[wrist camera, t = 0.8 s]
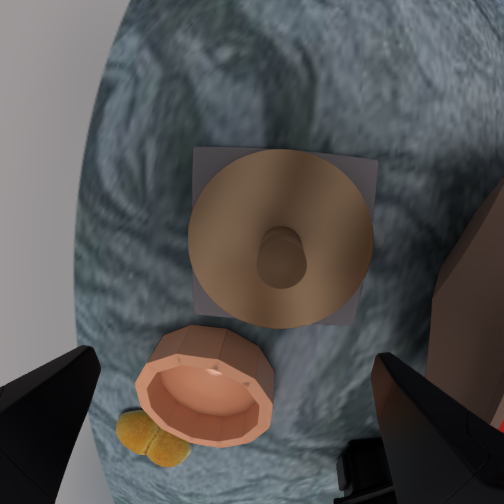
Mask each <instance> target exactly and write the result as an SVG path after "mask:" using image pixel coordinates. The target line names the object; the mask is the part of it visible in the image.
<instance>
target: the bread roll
mask: <svg viewBox="0 0 504 504" xmlns="http://www.w3.org/2000/svg"><path fill="white" fill-rule="evenodd" d="M116 433H117V436H118V438H119V440H120V441H121V443H122V444H123V445H124V446H126V447H127V448H128V449H130V450H131V451H133V452H135V453H137V454H140V455H147V456H148V457H149V458H150V459H151V460H152V461H153V462H154V463H156V464H158V465H160V466H163V467H173V466H176V465H178V464H179V463H182V462H183V461H184V460H185V459H186V458H187V457H188V456H189V454H190V453H191V451H192V448H193V443H189V442H187V441H185V440H183V439H181V438H179V437H177V436H175V435H173V434H171V433H169V432H167V431H165V430H163V429H161V428H160V427H159V426H158V425H157V424H156V423H155V422H154V420H153V419H152V418H151V417H150V416H149V415H148V414H147V413H146V412H145V411H144V410H135V411H129V412H125V413H123V414H122V415H120V417H119V418H118V420H117V424H116Z"/></svg>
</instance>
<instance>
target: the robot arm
mask: <svg viewBox="0 0 504 504" xmlns="http://www.w3.org/2000/svg"><path fill="white" fill-rule="evenodd" d="M100 372H101V365H100V362H99V360H98V358H97V355H96V353H95V350H94V348H93V347H91V346H86V345H81V346H79V347H77V348H75V349H73V350H72V351H70V352H68V353H66V354H64V355H62V356H60V357H58V358H56V359H54V360H52V361H50V362H48V363H46V364H45V365H43V366H41V367H39V368H37V369H35V370H33V371H31V372H29V373H27V374H25V375H23V376H21V377H19V378H17V379H15V380H13V381H11V382H10V383H8V384H6V385H5V386H2V387H0V504H55V500H56V498H57V494H58V491H59V488H60V485H61V482H62V479H63V476H64V473H65V470H66V467H67V464H68V461H69V459H70V456H71V453H72V450H73V448H74V445H75V442H76V440H77V437H78V434H79V432H80V429H81V427H82V424H83V422H84V419H85V417H86V415H87V412H88V410H89V407H90V404H91V401H92V397H93V394H94V391H95V388H96V384H97V381H98V378H99V375H100ZM371 382H372V388H373V394H374V400H375V407H376V413H377V420H378V424H379V428H380V432H381V436H382V438H380V439H370V440H357V441H351V442H349V443H348V445H347V447H346V449H345V451H344V453H343V454H342V455H341V457H340V459H339V461H338V462H337V464H336V469H337V475H338V484H339V490H340V491H344V497H341V498H335V499H334V504H504V433H503V432H501V431H500V430H498V429H496V428H495V427H493V426H491V425H490V424H488V423H487V422H485V421H484V420H483V419H481V418H480V417H478V416H477V415H475V414H474V413H473V412H471V411H470V410H467V408H466V407H464V406H463V405H462V404H460V403H459V402H457V401H456V400H455V399H453V398H452V397H451V396H449V395H448V394H447V393H445V392H444V391H442V390H441V389H440V388H438V387H437V386H436V385H434V384H433V383H432V382H430V381H429V380H427V379H426V378H425V377H423V376H422V375H421V374H419V373H418V372H416V371H415V370H414V369H412V368H411V367H410V366H408V365H407V364H406V363H404V362H403V361H401V360H400V359H399V358H397V357H396V356H395V355H393V354H392V353H390V352H385V353H378V354H377V355H376V357H375V361H374V365H373V369H372V373H371Z"/></svg>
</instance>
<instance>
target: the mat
mask: <svg viewBox="0 0 504 504" xmlns="http://www.w3.org/2000/svg"><path fill="white" fill-rule="evenodd" d="M265 150H273V149H265V148H242V147H193V172H192V211H193V208H194V205H195V203H196V201H197V199H198V197H199V195H200V194H201V192H202V191H203V189H204V188H205V186H206V185H207V184H208V183H209V181H210V180H211V179H212V178H213V177H214V176H215V175H216V174H217V173H218V172H220V171H221V170H222V169H223V168H225V167H226V166H227V165H229V164H231V163H232V162H234V161H236V160H237V159H240V158H242V157H244V156H247V155H249V154H253V153H256V152H260V151H265ZM302 152H305V153H309V154H312V155H315V156H317V157H319V158H322V159H324V160H326V161H328V162H329V163H331V164H332V165H334V166H336V167H337V168H338V169H339V170H341V171H342V172H343V173H344V174H345V175H346V176H347V177H348V178H349V179H350V180H351V181H352V182H353V183H354V184H355V186H356V187H357V189H358V190H359V192H360V193H361V195H362V196H363V199H364V201H365V203H366V205H367V207H368V210H369V213H370V216H371V220H373V213H374V204H375V195H376V185H377V175H378V162H379V160H373V159H366V158H359V157H352V156H344V155H335V154H327V153H317V152H306V151H302ZM192 274H193V304H194V314H198V315H207V316H217V317H226V318H236V317H234V316H232V315H230V314H229V313H228V312H226V311H225V310H223V309H222V308H221V307H220V306H218V305H217V304H216V303H215V302H214V301H213V300H212V299H211V298H210V296H209V295H208V294H207V293H206V292H205V290H204V289H203V287H202V286H201V284H200V283H199V281H198V279H197V277H196V275H195V272H194V270H193V267H192ZM362 282H363V281H362ZM361 287H362V283H361V285H360V287H359V288H358V289H357V291H356V292H355V293H354V295H353V296H352V297H351V298H350V299H349V300H348V301H347V302H346V303H345V304H344V305H343V306H342V307H341V308H339V309H338V310H337V311H335V312H334V313H332V314H331V315H329V316H328V317H326V318H324V319H322V320H320V321H317V322H315V323H312V324H325V325H354V320H355V316H356V311H357V307H358V302H359V297H360V292H361ZM237 319H238V318H237Z"/></svg>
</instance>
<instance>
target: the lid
mask: <svg viewBox="0 0 504 504" xmlns="http://www.w3.org/2000/svg"><path fill="white" fill-rule="evenodd" d="M373 243H374V239H373V226H372V220H371V216H370V213H369V210H368V207H367V205H366V203H365V201H364V199H363V196H362V195H361V193H360V192H359V190H358V189H357V187H356V186H355V184H354V183H353V182H352V181H351V180H350V179H349V178H348V177H347V176H346V175H345V174H344V173H343V172H342V171H341V170H339V169H338V168H337V167H336V166H334V165H332V164H331V163H329V162H328V161H326V160H324V159H322V158H319V157H317V156H315V155H312V154H309V153H305V152H302V151H296V150H289V149H273V150H265V151H260V152H256V153H253V154H249V155H247V156H244V157H242V158H240V159H237V160H236V161H234V162H232V163H231V164H229V165H227V166H226V167H225V168H223V169H222V170H221V171H220V172H218V173H217V174H216V175H215V176H214V177H213V178H212V179H211V180H210V181H209V183H208V184H207V185H206V186H205V188H204V189H203V191H202V192H201V194H200V195H199V197H198V199H197V201H196V203H195V205H194V208H193V211H192V214H191V217H190V223H189V228H188V250H189V256H190V260H191V264H192V267H193V270H194V272H195V275H196V277H197V279H198V281H199V283H200V284H201V286H202V287H203V289H204V290H205V292H206V293H207V294H208V295H209V296H210V298H211V299H212V300H213V301H214V302H215V303H216V304H217V305H218V306H220V307H221V308H222V309H223V310H225V311H226V312H228V313H229V314H230V315H232V316H234V317H236V318H238V319H240V320H242V321H244V322H247V323H250V324H252V325H256V326H260V327H265V328H273V329H287V328H297V327H301V326H306V325H309V324H312V323H315V322H317V321H320V320H322V319H324V318H326V317H328V316H329V315H331V314H332V313H334V312H335V311H337V310H338V309H339V308H341V307H342V306H343V305H344V304H345V303H346V302H347V301H348V300H349V299H350V298H351V297H352V296H353V295H354V293H355V292H356V291H357V289H358V288H359V287H360V285H361V283H362V281H363V279H364V278H365V276H366V273H367V271H368V268H369V265H370V262H371V257H372V253H373Z"/></svg>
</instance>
